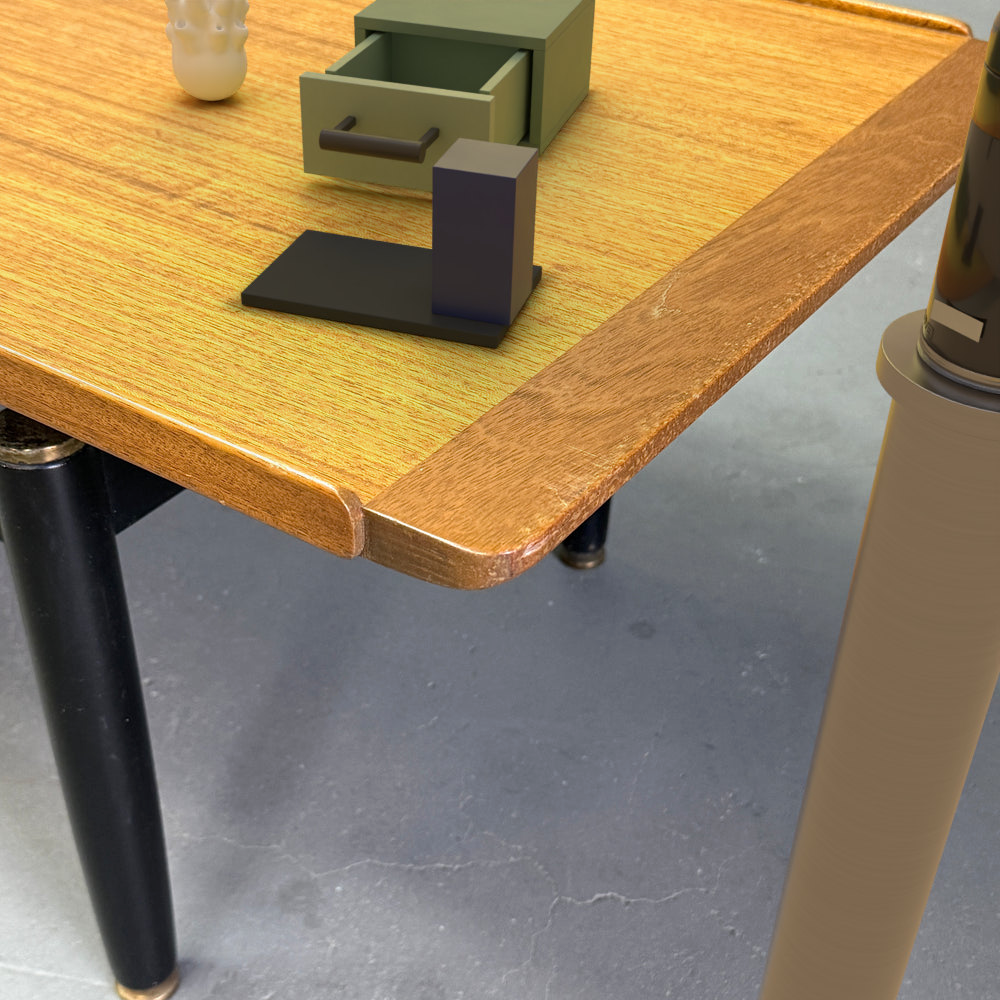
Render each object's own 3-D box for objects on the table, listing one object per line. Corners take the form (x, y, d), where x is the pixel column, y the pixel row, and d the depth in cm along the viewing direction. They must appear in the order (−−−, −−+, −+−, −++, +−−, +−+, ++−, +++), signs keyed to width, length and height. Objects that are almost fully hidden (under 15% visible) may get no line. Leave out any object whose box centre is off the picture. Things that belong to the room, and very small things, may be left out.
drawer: (466, 226, 91) (468, 124, 88) (275, 197, 94) (269, 97, 90) (543, 130, 107) (547, 40, 103) (376, 108, 110) (375, 19, 106)
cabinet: (539, 156, 105) (546, 38, 100) (356, 131, 108) (353, 15, 103) (589, 92, 117) (596, -15, 112) (423, 71, 121) (423, -34, 116)
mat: (541, 277, 88) (542, 265, 87) (496, 348, 80) (497, 336, 79) (307, 240, 91) (306, 228, 91) (241, 305, 83) (240, 292, 83)
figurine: (172, 84, 116) (156, -68, 109) (253, 82, 117) (243, -68, 110) (171, 113, 110) (155, -46, 103) (257, 110, 111) (246, -47, 104)
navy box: (531, 291, 84) (538, 148, 79) (510, 326, 80) (516, 178, 75) (456, 279, 85) (458, 137, 80) (431, 313, 81) (432, 166, 76)
